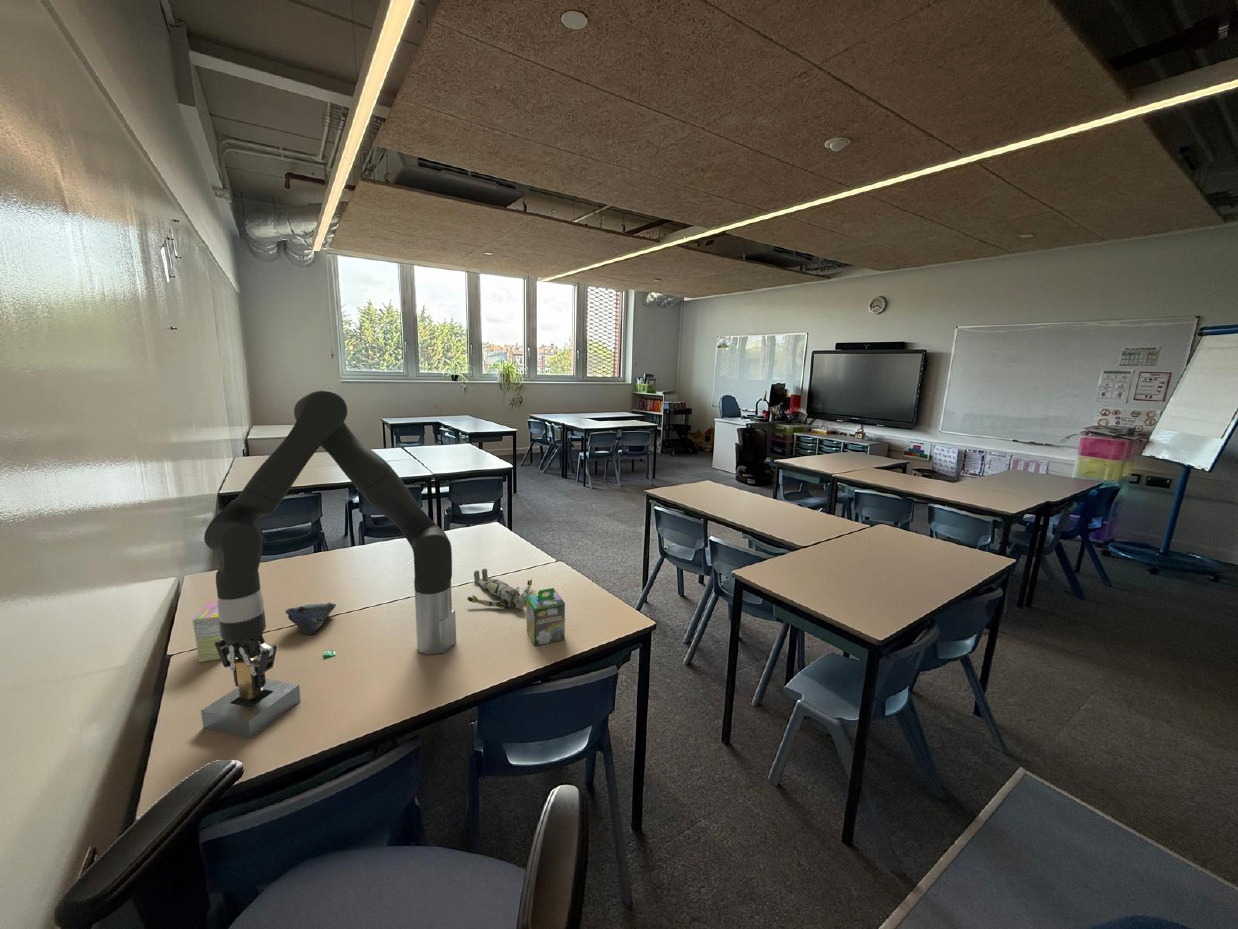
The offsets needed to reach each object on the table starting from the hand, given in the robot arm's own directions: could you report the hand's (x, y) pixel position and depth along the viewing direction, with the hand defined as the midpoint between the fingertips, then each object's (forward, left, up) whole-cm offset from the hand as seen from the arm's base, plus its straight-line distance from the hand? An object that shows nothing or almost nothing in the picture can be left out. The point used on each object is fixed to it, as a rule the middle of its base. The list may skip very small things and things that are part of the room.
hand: (250, 686), depth 104 cm
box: (+30, -17, -7) cm, 36 cm away
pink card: (+2, -23, -7) cm, 24 cm away
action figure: (-25, -67, -7) cm, 72 cm away
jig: (0, 0, -7) cm, 7 cm away
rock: (+18, -35, -7) cm, 40 cm away
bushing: (0, 0, -2) cm, 2 cm away
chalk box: (-49, -47, -7) cm, 68 cm away
